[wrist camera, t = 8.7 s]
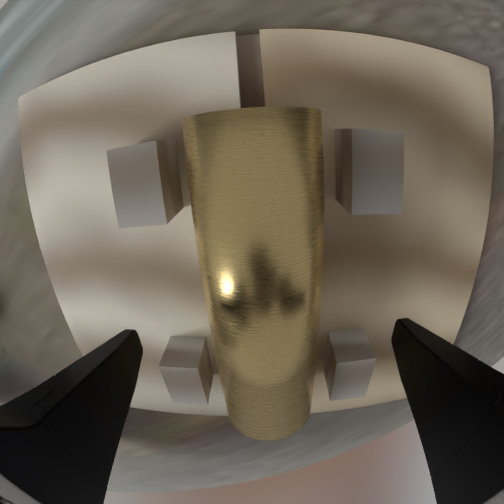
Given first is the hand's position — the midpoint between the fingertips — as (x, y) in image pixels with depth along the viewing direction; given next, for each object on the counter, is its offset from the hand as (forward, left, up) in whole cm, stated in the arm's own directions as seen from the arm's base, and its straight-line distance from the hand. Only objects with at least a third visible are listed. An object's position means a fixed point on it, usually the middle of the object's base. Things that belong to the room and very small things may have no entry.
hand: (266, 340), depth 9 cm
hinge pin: (0, 0, -5) cm, 5 cm away
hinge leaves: (0, 0, -6) cm, 6 cm away
